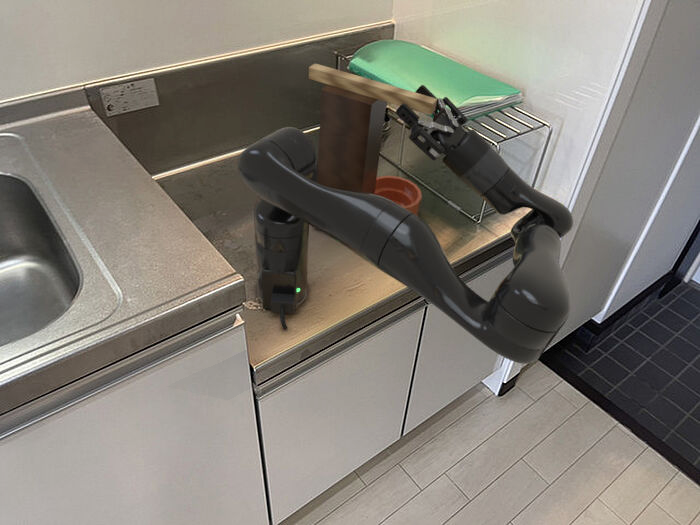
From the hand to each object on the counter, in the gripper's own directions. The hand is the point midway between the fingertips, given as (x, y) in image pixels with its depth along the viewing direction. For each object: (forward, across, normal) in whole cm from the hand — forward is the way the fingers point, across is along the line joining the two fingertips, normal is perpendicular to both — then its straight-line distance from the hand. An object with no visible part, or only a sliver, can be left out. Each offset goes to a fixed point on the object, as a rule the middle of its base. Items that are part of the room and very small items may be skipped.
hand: (409, 97), depth 93 cm
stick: (+6, 0, -5) cm, 8 cm away
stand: (-8, 0, -34) cm, 35 cm away
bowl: (-14, +11, -31) cm, 35 cm away
